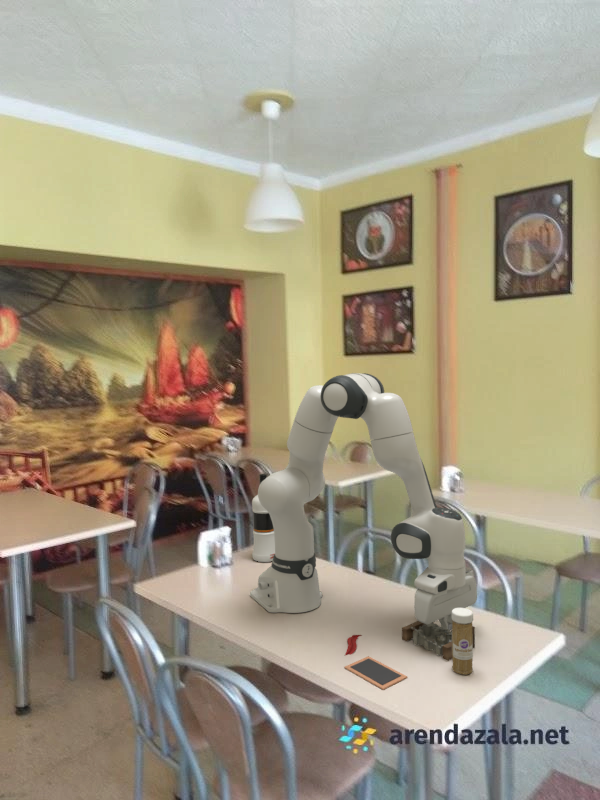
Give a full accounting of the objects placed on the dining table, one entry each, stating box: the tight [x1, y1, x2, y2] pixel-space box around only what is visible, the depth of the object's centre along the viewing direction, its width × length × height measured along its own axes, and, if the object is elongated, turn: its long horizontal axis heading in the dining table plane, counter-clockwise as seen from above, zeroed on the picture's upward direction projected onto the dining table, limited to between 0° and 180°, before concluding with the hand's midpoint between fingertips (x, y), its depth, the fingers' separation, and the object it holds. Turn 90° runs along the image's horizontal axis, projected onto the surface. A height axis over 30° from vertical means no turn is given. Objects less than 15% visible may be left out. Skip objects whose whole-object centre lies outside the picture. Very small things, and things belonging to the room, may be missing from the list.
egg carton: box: [410, 622, 452, 656], centre depth 147 cm, size 11×8×4 cm
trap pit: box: [344, 655, 408, 691], centre depth 135 cm, size 12×8×1 cm, turn 38°
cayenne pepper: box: [344, 634, 363, 657], centre depth 148 cm, size 12×5×2 cm, turn 146°
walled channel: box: [401, 620, 476, 662], centre depth 148 cm, size 14×10×5 cm
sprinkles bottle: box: [451, 607, 474, 676], centre depth 134 cm, size 5×5×13 cm
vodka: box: [251, 473, 275, 563], centre depth 213 cm, size 9×9×30 cm
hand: (447, 630), depth 150 cm, fingers closed
